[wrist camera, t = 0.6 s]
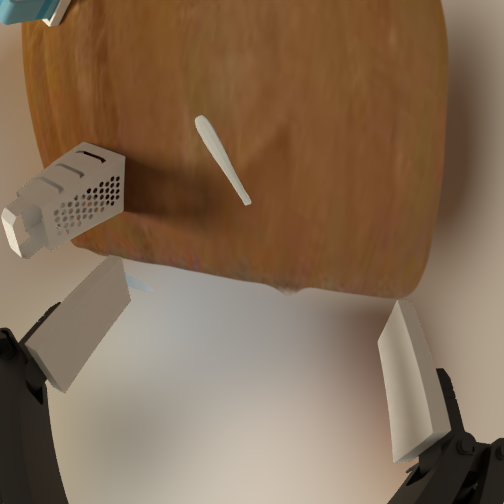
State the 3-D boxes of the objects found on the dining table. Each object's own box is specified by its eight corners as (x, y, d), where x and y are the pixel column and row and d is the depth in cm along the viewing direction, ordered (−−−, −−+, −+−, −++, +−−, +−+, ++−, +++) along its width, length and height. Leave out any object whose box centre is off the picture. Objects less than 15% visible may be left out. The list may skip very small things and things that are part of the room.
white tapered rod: (209, 109, 30) (190, 121, 32) (303, 281, 41) (284, 286, 42) (211, 108, 31) (192, 120, 32) (303, 279, 42) (285, 283, 43)
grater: (125, 156, 38) (20, 220, 23) (123, 211, 45) (39, 281, 30) (83, 141, 39) (-12, 193, 24) (85, 191, 46) (5, 250, 31)
